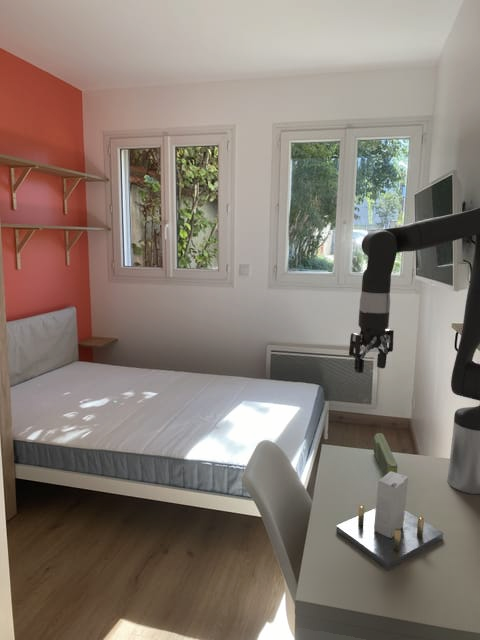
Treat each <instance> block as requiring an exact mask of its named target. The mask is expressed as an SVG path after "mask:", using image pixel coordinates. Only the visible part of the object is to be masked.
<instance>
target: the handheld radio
mask: <svg viewBox="0 0 480 640" xmlns="http://www.w3.org/2000/svg"><path fill="white" fill-rule="evenodd" d="M391 450H392V449H391V448H390V446H389V444H388V441H387V440H386V437H385V435H384V434H383V433H381V432H380V433H376V434H375V435H374V437H373V454H374V456H375V458H376V460H377V462H378V465H379V468H380V470H381V473H382V475H383V477H384V476H385V475H386V474H388V473H389V472H390V471H391V472H395V473H398V463H397V461H396V459H395V457H394V454H393V452H392V451H391Z"/></svg>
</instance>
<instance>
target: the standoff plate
mask: <svg viewBox="0 0 480 640" xmlns="http://www.w3.org/2000/svg"><path fill="white" fill-rule="evenodd" d="M365 510H366V509H365V505H359V506H358V515H357V516H355V517H353V518H351V519H348V520H346V521H344V522H342V523H339V524H337V525H336V533H337V534H339V536H341V537H343V538H344V539H345V540H347V541H349V542H350V544H352V545H353V546H354V547H356V548H358V549H359V550H360V551H361V552H362V553H364V554H366V555H367V556H368V557H370V558H371V559H372V560H373V561H374V562H376V563H377V564H379V565H380V566H381V567H383V568H384V569H386V570H387V571H390V570H392V569H393V568H394V567H397V566H399V564H402V563H403V562H405V561H407V560H409V559H410V558H412V557H414V556H416V555H418V554H419V553H421V552H423V551H424V550H427V549H428V548H429V547H431V546H433V545H435V544H436V543H439V542H441V541H442V540H444V539H443V538H444V532H443V531H442V530H440V529H438V528H436V527H435V526H432V525H431V524H429V523H427V522H426V521H425V518H424V517H422V516H418V517H417V515H414V514H412V513H411V512H409V511H408V510H406V509H405V513H404V522H403V527H402V528H401V529H398V528H396V529H395V534H394V536H393V537H392V538H389V537H387V536H384V535H382V534H380V533H378V532H377V531H375V530H374V522H375V512H376V507H375V508H373V509H371V510H369V511H366V512H365Z"/></svg>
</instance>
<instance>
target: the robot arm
mask: <svg viewBox="0 0 480 640" xmlns="http://www.w3.org/2000/svg"><path fill="white" fill-rule="evenodd" d="M473 236H475V240H474V241H475V242H474V244H475V245H474V254H473V255H474V256H473V261H472V266H471V273H470V278H469V283H468V289H467V294H466V300H465V308H464V309H465V310H464V315H463V322H462V327H461V328H462V329H461V335H460V339H459V344H458V348H457V351H456V357H455V360H454V365H453V369H452V372H451V379H450V387H451V392H452V393H453V394H454V395H456V396H460V397H463V398H467V399H471V400H475V401H478V402H480V363H478V362H477V363H476V362H473V361H474V360H473V359H474V356H475V353H476V350H477V349H478V347H479V345H480V206H479V207H477V208H476V207H475V208H473V209H468V210H465V211H461V212H457V213H452V214H447V215H443V216H437V217H431V218H425V219H423V220H418V221H415V222H411V223H407V224H404V225H401V226H396V227H394V226H393V227H389V228H383V229H378V230H373V231H371V232H368V233H367V234H366V235H365V236H364V237H363V239H362V241H361V249H362V252H363V254H364V255H366V256H367V264H366V269H365V270H364V271H363V275H362V278H361V279H362V280H361V292H360V298H359V309H358V327H359V328H360V331H359V333H351V334H350V341H349V349H348V356H350V357H352V358H354V367H353V369H354V371H355V372H356V373H358V374H363V373H364V368H365V367H364V366H365V365H364V364H365V359H364V358H365V357H366V355H367V354H369V352H370V351H371V350H372V349H376V350H377V352H378V354H377V359H376V360H377V361H376V362H377V363H376V367H377V368H379V369H385V368H386V364H387V355H388V354H389V353H392V352H393V350H394V333H395V332H394V330H393V329H390V328H389V323H390V309H391V283H392V272H393V270H394V266H395V262H396V258H397V253H398V254H399V253H403V252H405V253H406V252H415V251H421V250H424V249H428V248H434V247H437V246H441V245H445V244H448V243H450V242H454V241H458V240H461V239H465V238H468V237H473ZM388 328H389V329H388ZM451 435H452V436H451V444H450V452H449V453H450V454H449V462H448V463H449V464H448V470H447V471H448V473H447V483H448V484H449V485H450V486H451V488H454V489H455V490H456V491H457V490H458V491H460V492H462V493H466V494H472V495H480V404H479V405H477V406H466V407H461V408H458V409H456V410H455V412H454V416H453V426H452V434H451Z"/></svg>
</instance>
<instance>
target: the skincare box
mask: <svg viewBox="0 0 480 640" xmlns="http://www.w3.org/2000/svg"><path fill="white" fill-rule="evenodd" d="M408 483H409V477H408V476H406V475H403V474H400V473H398V472H397V473H395V472H391V471H390V472H389V473H388V474H386V475H385V476H383V477H382V478H380V479H379V480H378V482H377V484H378V485H377V492H376V493H377V494H376V502H375V503H376V504H375V508H376V512H375V522H374V530H375V531H377V532H378V533H380V534H382V535H384V536H387V537H389V538H392V537H393V536H394V534H395V529H396V528H398V529H401V528H402V527H403V522H404V513H405V510H406V502H407V501H406V500H407V492H408V485H409V484H408Z"/></svg>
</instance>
